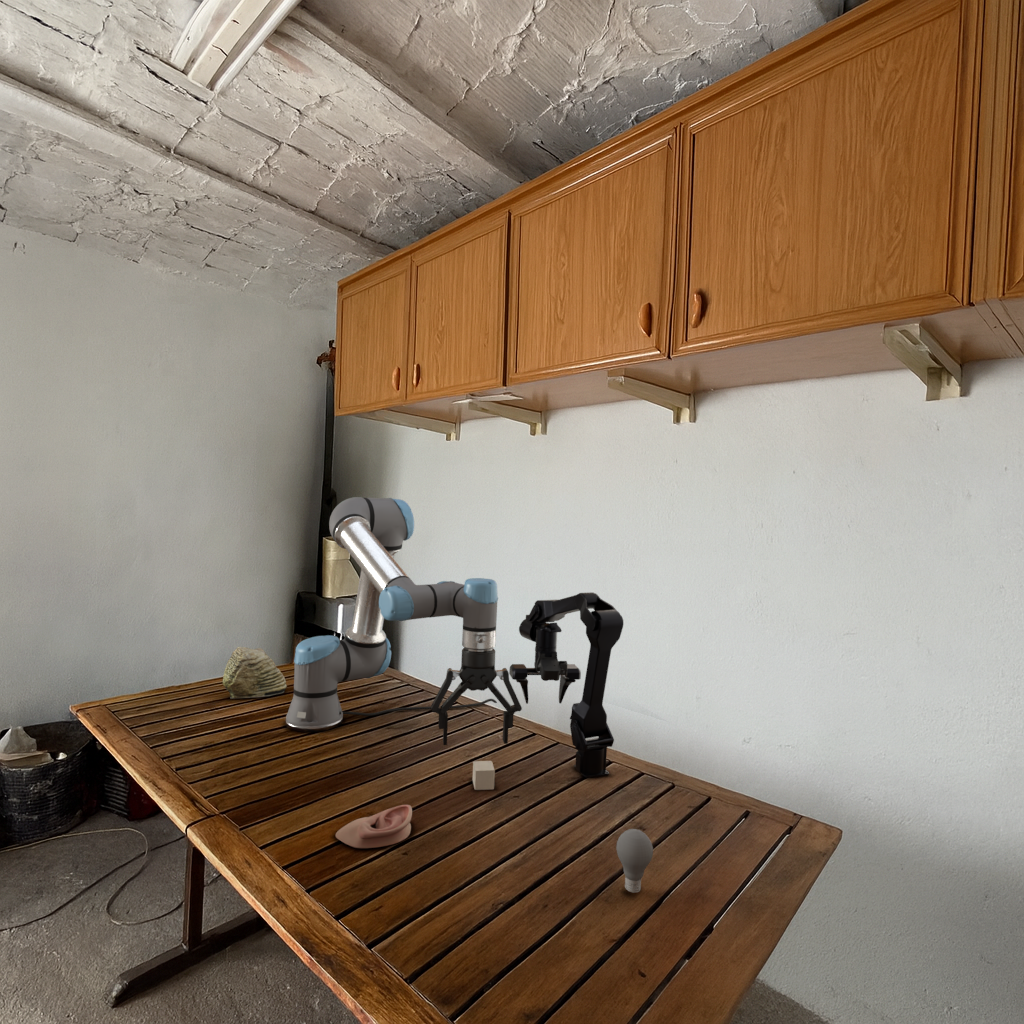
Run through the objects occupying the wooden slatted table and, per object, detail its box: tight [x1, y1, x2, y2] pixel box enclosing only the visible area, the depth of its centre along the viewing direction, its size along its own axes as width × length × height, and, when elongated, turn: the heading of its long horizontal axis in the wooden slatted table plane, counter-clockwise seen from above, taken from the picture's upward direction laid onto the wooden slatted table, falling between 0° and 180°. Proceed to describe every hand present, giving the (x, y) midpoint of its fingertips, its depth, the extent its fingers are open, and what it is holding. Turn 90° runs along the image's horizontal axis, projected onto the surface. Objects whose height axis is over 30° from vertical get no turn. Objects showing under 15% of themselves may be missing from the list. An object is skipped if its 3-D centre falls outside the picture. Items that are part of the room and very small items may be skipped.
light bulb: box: [615, 828, 654, 894], centre depth 106 cm, size 6×6×10 cm
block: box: [471, 760, 496, 791], centre depth 143 cm, size 4×5×4 cm
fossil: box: [222, 646, 288, 699], centre depth 198 cm, size 9×18×15 cm, turn 132°
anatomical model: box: [335, 804, 413, 849], centre depth 120 cm, size 13×4×12 cm
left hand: (475, 742), depth 142 cm, fingers open, 13 cm apart
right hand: (543, 703), depth 172 cm, fingers open, 9 cm apart
